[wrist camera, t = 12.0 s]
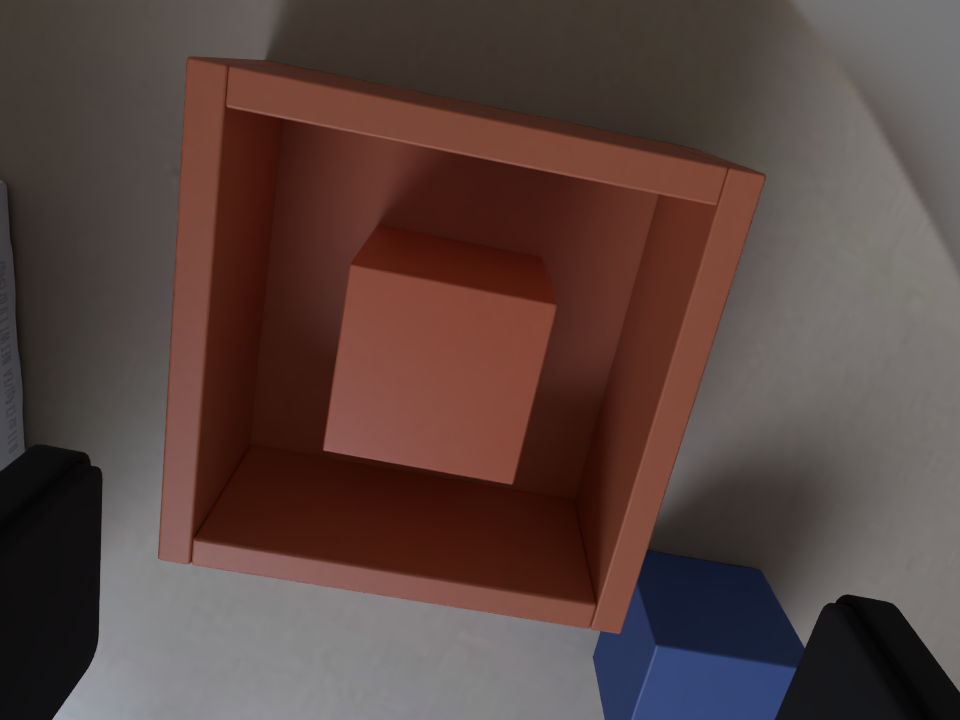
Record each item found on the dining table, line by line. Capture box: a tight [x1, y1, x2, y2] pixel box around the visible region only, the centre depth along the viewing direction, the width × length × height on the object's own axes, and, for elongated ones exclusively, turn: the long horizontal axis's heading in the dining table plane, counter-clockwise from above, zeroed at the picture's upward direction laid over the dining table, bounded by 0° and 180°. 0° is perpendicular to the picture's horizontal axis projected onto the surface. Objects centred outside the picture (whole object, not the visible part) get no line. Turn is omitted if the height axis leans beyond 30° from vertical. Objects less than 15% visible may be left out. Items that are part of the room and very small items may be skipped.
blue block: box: [593, 551, 805, 720], centre depth 24 cm, size 5×5×5 cm
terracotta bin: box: [158, 57, 766, 634], centre depth 20 cm, size 12×12×6 cm
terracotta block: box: [323, 225, 558, 484], centre depth 20 cm, size 5×5×5 cm
